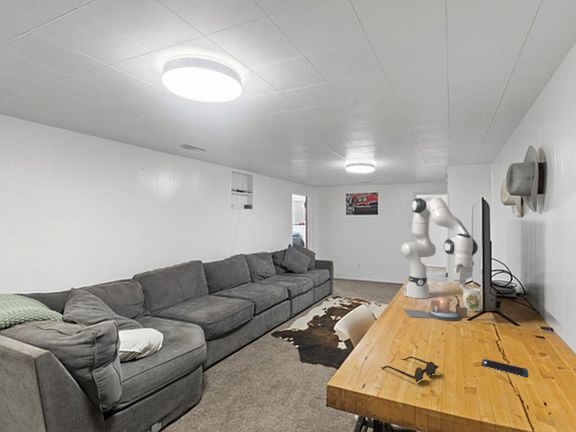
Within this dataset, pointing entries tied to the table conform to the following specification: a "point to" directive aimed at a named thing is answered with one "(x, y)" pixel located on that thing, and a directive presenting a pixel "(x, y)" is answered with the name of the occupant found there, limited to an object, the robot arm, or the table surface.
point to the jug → (441, 304)
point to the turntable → (459, 312)
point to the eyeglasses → (418, 369)
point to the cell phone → (505, 367)
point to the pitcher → (471, 298)
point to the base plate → (444, 318)
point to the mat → (417, 313)
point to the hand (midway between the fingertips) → (462, 287)
